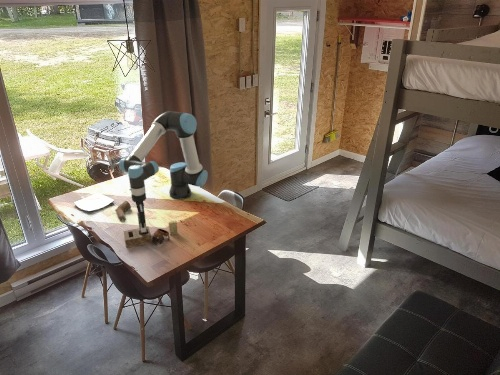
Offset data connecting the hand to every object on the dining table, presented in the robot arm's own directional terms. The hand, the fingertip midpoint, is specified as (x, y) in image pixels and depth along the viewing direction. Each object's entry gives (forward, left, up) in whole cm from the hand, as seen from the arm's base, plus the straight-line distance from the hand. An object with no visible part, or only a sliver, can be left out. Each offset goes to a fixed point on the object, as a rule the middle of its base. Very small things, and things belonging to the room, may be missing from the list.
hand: (143, 229), depth 219 cm
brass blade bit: (-17, 0, -7) cm, 18 cm away
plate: (+25, -54, -7) cm, 60 cm away
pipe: (+8, -34, -7) cm, 36 cm away
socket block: (+3, 0, -7) cm, 7 cm away
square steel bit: (0, 0, -2) cm, 2 cm away
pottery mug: (-8, +6, -7) cm, 12 cm away
